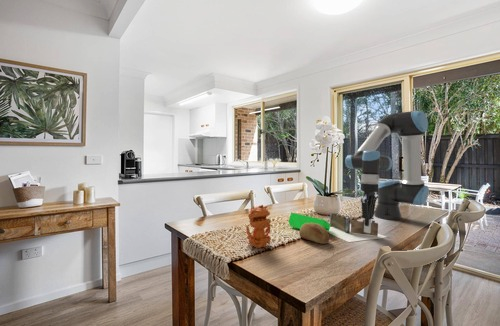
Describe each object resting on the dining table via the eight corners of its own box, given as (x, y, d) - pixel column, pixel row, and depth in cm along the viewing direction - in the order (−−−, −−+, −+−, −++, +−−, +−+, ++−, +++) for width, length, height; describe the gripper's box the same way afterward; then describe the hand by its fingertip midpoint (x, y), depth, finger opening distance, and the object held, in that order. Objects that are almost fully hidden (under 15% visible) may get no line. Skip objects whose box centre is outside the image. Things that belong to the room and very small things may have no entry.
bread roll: (320, 248, 108) (321, 229, 107) (293, 238, 119) (294, 221, 119) (333, 243, 114) (334, 225, 113) (306, 234, 125) (307, 218, 125)
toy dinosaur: (253, 252, 101) (254, 207, 100) (241, 243, 111) (242, 202, 110) (277, 248, 106) (278, 205, 105) (263, 240, 116) (264, 200, 115)
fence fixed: (332, 225, 141) (332, 211, 140) (346, 232, 130) (347, 217, 129) (329, 225, 140) (329, 212, 140) (343, 232, 129) (344, 217, 129)
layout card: (352, 224, 144) (352, 223, 144) (387, 237, 123) (387, 236, 122) (317, 227, 136) (317, 227, 136) (348, 242, 115) (348, 241, 115)
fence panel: (350, 232, 127) (351, 218, 127) (350, 231, 128) (351, 218, 128) (377, 236, 122) (378, 221, 122) (377, 235, 123) (378, 221, 123)
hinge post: (347, 232, 129) (348, 216, 129) (350, 233, 127) (351, 217, 127) (344, 232, 129) (344, 216, 128) (347, 233, 127) (347, 217, 126)
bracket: (329, 240, 128) (333, 226, 130) (320, 234, 122) (324, 219, 124) (296, 230, 142) (300, 218, 144) (286, 224, 136) (291, 212, 138)
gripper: (372, 184, 114) (369, 236, 115) (383, 183, 123) (380, 232, 124) (355, 182, 120) (353, 232, 120) (367, 181, 129) (365, 228, 129)
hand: (367, 232), depth 122 cm, fingers closed
